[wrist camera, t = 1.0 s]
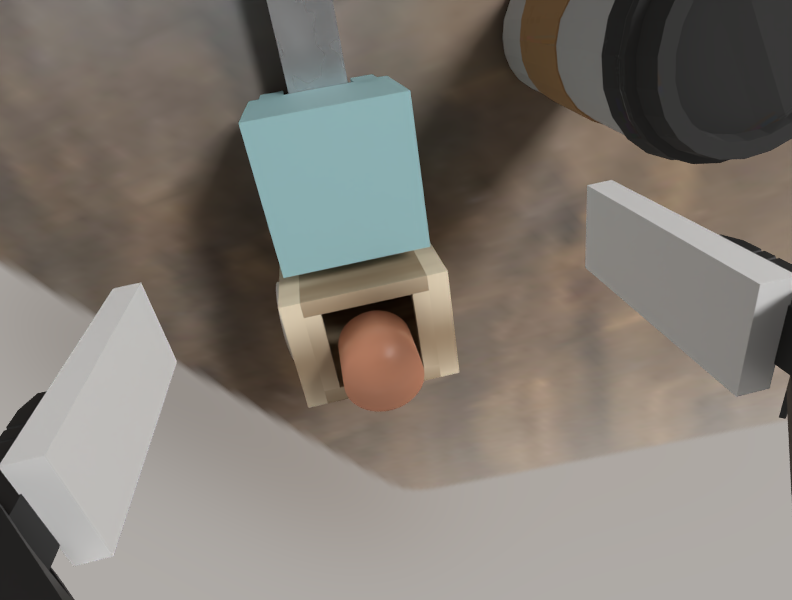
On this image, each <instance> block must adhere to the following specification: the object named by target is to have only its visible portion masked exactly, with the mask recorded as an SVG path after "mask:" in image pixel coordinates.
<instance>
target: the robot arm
mask: <svg viewBox="0 0 792 600" xmlns="http://www.w3.org/2000/svg"><path fill="white" fill-rule="evenodd" d="M585 268H586V269H588V270H589V271H590V272H591V273H592V274H593V275H595V276H596V277H597V278H598V279H599V280H600V281H602V282H603V283H604V284H605V285H606V286H607V287H609V288H610V289H611V290H612V291H613V292H614V293H616V294H617V295H618V296H619V297H620V298H621V299H623V300H624V301H625V302H626V303H627V304H629V305H630V306H631V307H632V308H633V309H634V310H636V311H637V312H638V313H639V314H640V315H641V316H643V317H644V318H645V319H646V320H647V321H648V322H650V323H651V324H652V325H653V326H654V327H655V328H657V329H658V330H659V331H660V332H661V333H662V334H664V335H665V336H666V337H667V338H668V339H669V340H671V341H672V342H673V343H674V344H675V345H676V346H678V347H679V348H680V349H681V350H682V351H683V352H685V353H686V354H687V355H688V356H689V357H690V358H692V359H693V360H694V361H695V362H696V363H698V364H699V365H700V366H701V367H702V368H703V369H705V370H706V371H707V372H708V373H709V374H710V375H712V376H713V377H714V378H715V379H716V380H717V381H719V382H720V383H721V384H722V385H723V386H724V387H726V388H727V389H728V390H729V391H730V392H731V393H733V394H734V395H735V396H736V397H738V396H742V395H745V394H749V393H753V392H757V391H761V390H765V389H769V388H770V384H771V380H772V376H773V372H774V368H775V365H777V366H778V367H779V368H781V369H782V370H784V371H785V372H786V373H788V374H789V375H790V379H789V382H788V386H787V390H786V393H785V397H784V401H783V404H782V408H781V412H780V415H779V417H780V418H786V416H787V414H788V432H789V453H790V472H791V493H792V264H790V263H788V262H786V261H784V260H782V259H780V258H777V259H776V258H775V256H774V255H772V254H770V253H768V252H766V251H761V249H760V248H758V247H756V246H754V245H752V244H750V243H748V242H746V241H744V240H740V239H736V238H732V237H728V236H724V235H718V234H716V233H714V232H712V231H710V230H708V229H706V228H704V227H702V226H700V225H698V224H696V223H694V222H692V221H690V220H689V219H687V218H685V217H683V216H681V215H679V214H677V213H675V212H673V211H671V210H669V209H667V208H665V207H663V206H661V205H659V204H657V203H655V202H653V201H652V200H650V199H648V198H646V197H644V196H642V195H640V194H638V193H636V192H634V191H632V190H630V189H628V188H626V187H624V186H622V185H620V184H618V183H616V182H614V181H613V180H609V181H605V182H600V183H596V184H591V185H587V218H586V262H585ZM176 363H177V361H176V358H175V356H174V354H173V352H172V350H171V348H170V345H169V343H168V341H167V339H166V337H165V334H164V332H163V330H162V328H161V326H160V323H159V321H158V319H157V317H156V315H155V312H154V310H153V308H152V306H151V304H150V301H149V299H148V297H147V295H146V293H145V290H144V288H143V286H142V284H141V283H137V284H132V285H128V286H123V287H119V288H114V289H113V290H112V291H111V293H110V294H109V296H108V297H107V299H106V300H105V302H104V303H103V305H102V307H101V308H100V310H99V311H98V313H97V314H96V316H95V317H94V319H93V321H92V322H91V324H90V325H89V327H88V328H87V330H86V331H85V333H84V334H83V336H82V338H81V339H80V341H79V342H78V344H77V345H76V347H75V348H74V350H73V352H72V353H71V355H70V356H69V358H68V359H67V361H66V363H65V364H64V366H63V367H62V369H61V370H60V372H59V373H58V375H57V376H56V378H55V379H54V381H53V382H52V384H51V386H50V387H49V389H48V390H47V391H46V392H42V393H38V394H36V395H35V396H34V397H33V398H32V399H31V400H29V401H28V402H27V403H26V404H25V405H24V406H22V408H20V409H19V410H18V411H17V413H16V414H15V416H14V417H13V418H12V420H11V421H10V423H9V424H8V426H7V430H5V431H4V432H3V433H2V434H1V436H0V600H74V599H73V597H72V595H71V594H70V593H69V591H68V590H67V588H66V587H65V585H64V584H63V583H62V581H61V580H60V578H59V577H58V576H57V574H56V573H55V572H54V570H53V569H52V568H51V565H52V563H53V560H54V558H55V556H56V554H57V551H58V549H59V548H60V549H61V550H62V552H63V553H64V554H65V556H66V557H67V558H68V560H69V561H70V562H71V564H72V565H73V566H77V565H81V564H85V563H89V562H93V561H97V560H101V559H104V558H108V557H112V556H114V554H115V550H116V548H117V544H118V541H119V538H120V535H121V532H122V529H123V526H124V523H125V520H126V517H127V513H128V511H129V508H130V504H131V501H132V498H133V495H134V492H135V489H136V486H137V483H138V480H139V477H140V474H141V471H142V468H143V465H144V461H145V458H146V455H147V452H148V449H149V446H150V443H151V440H152V437H153V434H154V431H155V427H156V425H157V421H158V418H159V415H160V412H161V409H162V406H163V403H164V400H165V397H166V394H167V391H168V387H169V385H170V382H171V378H172V375H173V372H174V369H175V366H176Z"/></svg>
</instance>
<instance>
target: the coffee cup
mask: <svg viewBox="0 0 792 600" xmlns="http://www.w3.org/2000/svg"><path fill="white" fill-rule="evenodd" d="M502 38H503V45H504V53H505V56H506V58H507V61H508V63H509V66H510V68H511V70H512V71H513V72H514V74H515V75H516V76H517V77H518V79H519V80H520V81H522V82H523V83H525V84H526V85H527V86H529V87H530V88H532V89H534V90H536V91H538V92H540V93H542V94H544V95H545V96H547V97H548V98H550V99H551V100H552V101H554V102H556V103H558V104H560V105H562V106H564V107H566V108H568V109H570V110H572V111H574V112H576V113H578V114H580V115H582V116H584V117H585V118H587V119H589V120H591V121H594V122H597V123H600V124H604V125H606V126H608V127H610V128H612V129H614V130H616V131H618V132H620V133H622V134H624V135H625V136H626V138H627V139H628V140H630V141H631V142H632V143H634V144H635V145H637V146H638V147H639V148H641V149H642V150H644V151H645V152H646V153H649V154H652V155H656V156H659V157H663V158H666V159H670V160H680V161H683V162H687V163H691V164H704V163H721V162H724V161H727V160H730V159H746V158H749V157H752V156H755V155H758V154H762V153H765V152H768V151H771V150H773V149H774V148H776V147H778V146H780V145H781V144H783V143H785V142H787V141H788V140H790V139H792V0H511V1H510V3H509V6H508V9H507V12H506V15H505V18H504V26H503V36H502Z"/></svg>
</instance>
